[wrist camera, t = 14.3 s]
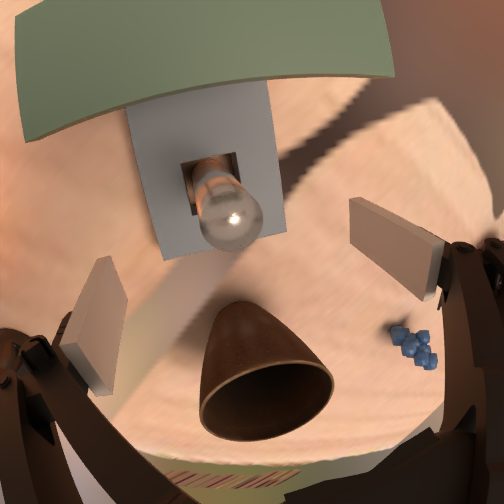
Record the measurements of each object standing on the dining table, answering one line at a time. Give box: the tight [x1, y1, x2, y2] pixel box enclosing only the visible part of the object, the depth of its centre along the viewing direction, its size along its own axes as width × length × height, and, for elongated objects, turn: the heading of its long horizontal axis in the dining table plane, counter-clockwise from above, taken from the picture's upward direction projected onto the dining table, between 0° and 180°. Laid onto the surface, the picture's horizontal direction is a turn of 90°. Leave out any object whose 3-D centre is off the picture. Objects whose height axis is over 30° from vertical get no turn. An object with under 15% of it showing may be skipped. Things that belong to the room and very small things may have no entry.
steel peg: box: [192, 160, 263, 251], centre depth 25 cm, size 4×4×16 cm
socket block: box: [125, 80, 287, 261], centre depth 30 cm, size 18×14×4 cm
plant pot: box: [199, 302, 334, 442], centre depth 35 cm, size 15×15×16 cm
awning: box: [15, 0, 395, 143], centre depth 18 cm, size 7×18×21 cm, turn 99°
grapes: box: [390, 326, 438, 370], centre depth 47 cm, size 12×7×12 cm, turn 59°
